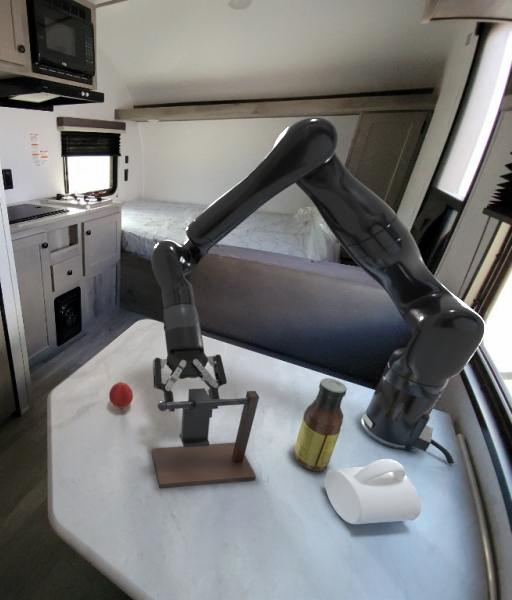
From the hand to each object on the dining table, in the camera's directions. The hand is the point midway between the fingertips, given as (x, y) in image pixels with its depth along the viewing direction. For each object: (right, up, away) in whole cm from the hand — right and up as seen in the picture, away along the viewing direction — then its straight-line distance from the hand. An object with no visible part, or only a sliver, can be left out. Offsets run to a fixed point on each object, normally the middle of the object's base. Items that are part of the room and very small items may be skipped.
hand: (193, 410), depth 62 cm
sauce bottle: (+25, -12, +4) cm, 28 cm away
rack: (+2, -12, +3) cm, 13 cm away
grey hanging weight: (0, -7, -1) cm, 7 cm away
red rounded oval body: (-14, -6, +18) cm, 23 cm away
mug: (+29, -16, -5) cm, 34 cm away
